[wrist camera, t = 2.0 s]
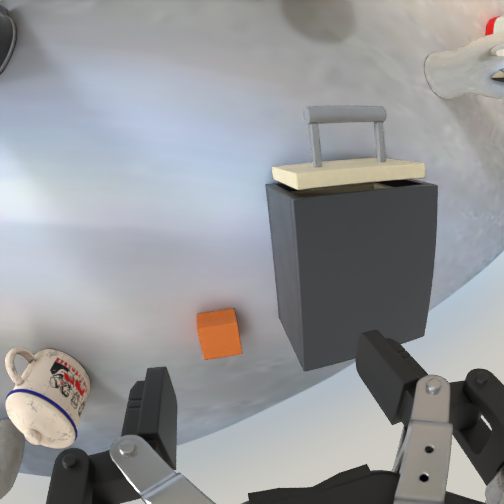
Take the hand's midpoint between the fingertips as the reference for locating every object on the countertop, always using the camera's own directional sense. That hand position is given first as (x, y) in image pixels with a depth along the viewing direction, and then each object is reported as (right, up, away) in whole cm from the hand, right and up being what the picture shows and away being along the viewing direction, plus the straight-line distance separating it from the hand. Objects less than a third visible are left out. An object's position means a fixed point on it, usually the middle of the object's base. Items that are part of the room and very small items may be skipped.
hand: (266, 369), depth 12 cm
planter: (-41, -24, +23) cm, 52 cm away
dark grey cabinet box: (+8, +5, +21) cm, 23 cm away
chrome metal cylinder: (+22, +26, +17) cm, 38 cm away
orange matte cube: (-4, -3, +22) cm, 23 cm away
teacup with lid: (-26, -10, +21) cm, 34 cm away
